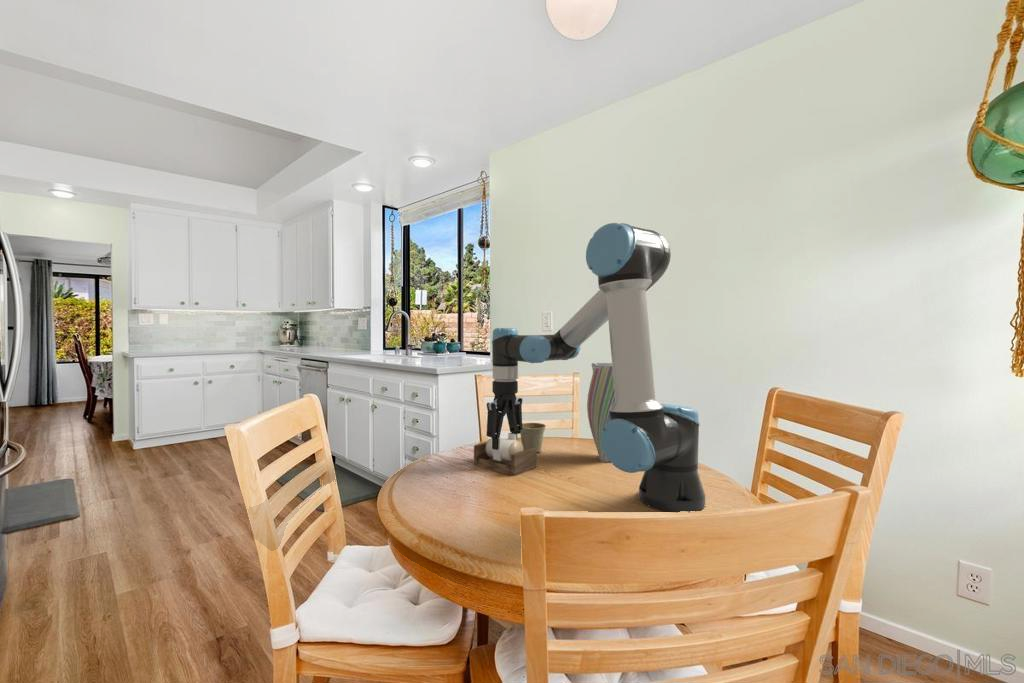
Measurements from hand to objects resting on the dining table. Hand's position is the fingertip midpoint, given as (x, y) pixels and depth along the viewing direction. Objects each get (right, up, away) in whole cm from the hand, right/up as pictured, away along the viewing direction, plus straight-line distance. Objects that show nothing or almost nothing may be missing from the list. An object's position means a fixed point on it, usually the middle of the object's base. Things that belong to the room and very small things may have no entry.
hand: (505, 457), depth 138 cm
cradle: (0, -3, 0) cm, 3 cm away
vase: (+32, -3, +7) cm, 33 cm away
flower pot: (+9, -2, +16) cm, 19 cm away
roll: (0, -1, 0) cm, 1 cm away
